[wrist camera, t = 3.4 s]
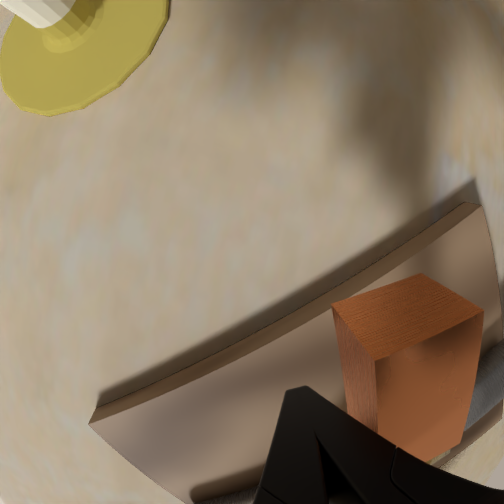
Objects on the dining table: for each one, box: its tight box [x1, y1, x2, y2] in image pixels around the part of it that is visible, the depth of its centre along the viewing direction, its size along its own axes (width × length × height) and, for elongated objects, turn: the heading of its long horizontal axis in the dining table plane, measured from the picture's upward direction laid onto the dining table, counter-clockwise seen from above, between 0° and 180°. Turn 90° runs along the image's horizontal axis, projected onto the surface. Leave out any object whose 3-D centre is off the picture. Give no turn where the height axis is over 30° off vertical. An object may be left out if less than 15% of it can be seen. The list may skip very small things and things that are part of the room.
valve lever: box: [331, 273, 484, 462], centre depth 8 cm, size 14×3×3 cm, turn 15°
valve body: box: [194, 339, 504, 504], centre depth 13 cm, size 5×23×6 cm, turn 120°
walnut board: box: [88, 202, 503, 504], centre depth 16 cm, size 20×24×2 cm
